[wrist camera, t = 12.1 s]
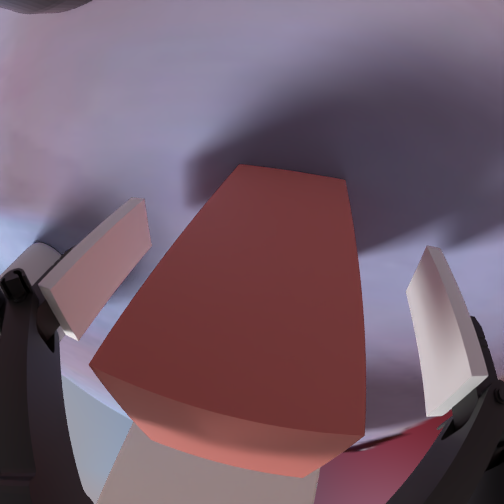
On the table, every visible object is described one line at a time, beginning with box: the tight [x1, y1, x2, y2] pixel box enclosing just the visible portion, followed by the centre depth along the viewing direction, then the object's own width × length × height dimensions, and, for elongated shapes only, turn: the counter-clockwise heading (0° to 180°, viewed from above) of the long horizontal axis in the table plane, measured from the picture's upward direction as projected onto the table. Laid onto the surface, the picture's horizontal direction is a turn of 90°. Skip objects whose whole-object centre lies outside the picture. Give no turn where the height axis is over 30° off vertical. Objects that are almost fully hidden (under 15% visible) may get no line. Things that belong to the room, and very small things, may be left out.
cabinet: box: [97, 422, 320, 504], centre depth 21 cm, size 10×19×20 cm, turn 87°
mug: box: [0, 243, 65, 342], centre depth 20 cm, size 12×8×11 cm
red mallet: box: [89, 164, 366, 478], centre depth 15 cm, size 22×5×11 cm, turn 177°
